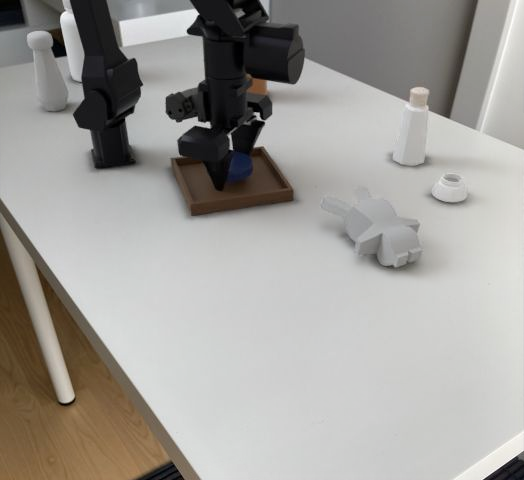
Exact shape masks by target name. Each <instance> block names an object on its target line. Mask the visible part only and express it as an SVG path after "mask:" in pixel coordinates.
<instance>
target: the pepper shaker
mask: <svg viewBox="0 0 524 480" xmlns="http://www.w3.org/2000/svg"><path fill="white" fill-rule="evenodd" d="M409 93H410V95H409V103H406V104H405V107H404V110H403V113H402V118H401V122H400V126H399V130H398V132H397V133H398V134H397V138H396V141H395V145H394V149H393V153H392V161H394V162H396V163H397V164H399V165H401V166H407V167H408V166H410V167H416V166H418V165H422V164H424V163H425V156H426V148H427V147H426V146H427V133H428V124H429V123H428V121H429V108H430V107H429V105H427V104H428V103H427V102H428V99H429V95H430V89H428V88H425V87H423V86H422V87H421V86H416V87H413V88H411V89H410V92H409Z"/></svg>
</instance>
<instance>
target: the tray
mask: <svg viewBox="0 0 524 480" xmlns="http://www.w3.org/2000/svg"><path fill="white" fill-rule="evenodd" d="M250 157H251V159H252V164H253V171H252V174H251V175H250V176H249V177H247V178H245V179H243V180H240V181H233V182H225V185H224V188H223V190H222V191H218V190H216V189H215V187H214V185H213V183H212V180H211V178H210V176H209V175H208V173H207V169H206V167H205V165H204V163H203V161H202V160H199V159H194V158H189V157H184V156H176V157H170V165H171V170H172V173H173V175H174V177H175V180H176V183H177V185H178V187H179V189H180V192H181V195H182V196H183V199H184V202H185V204H186V206H187V209H188V211H189V213H190V215H191V216H197V215H198V216H199V215H205V214H212V213H219V212H225V211H230V210H238V209H245V208H251V207H258V206H264V205H271V204H278V203H279V204H280V203H285V202H291V201H294V191H295V190H294V188H293V186H292V185H291V183H290V182H289V180H288V179H287V178H286V176H285V174H283V172H282V170H281V169H280V168H279V166H278V165H277V163H276V162H275V161H274V159H273V158H272V156H271V155H270V154H269V152H268V151H267V149H266V148H265V146H264V145H262V146H254V148H253V150H252V152H251V154H250Z"/></svg>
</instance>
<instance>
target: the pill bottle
mask: <svg viewBox="0 0 524 480" xmlns="http://www.w3.org/2000/svg"><path fill="white" fill-rule="evenodd" d="M61 1H62V5H63V8H64V10H65V11H64V12H62V13H61V15H60V19H59V22H60V23H59V24H60V27H61V32H62V33H61V34H62V38H63V41H64V46H65V51H66V58H67V61H68V67H69V71H70V74H71V78H72V79H73V80H74V81H76V82H79V83H80V82H81V83H82V80H81V75H82V68H83V62H84V50H83V47H82V43H81V40H80V36H79V33H78V29H77V26H76V22H75V19H74V15H73V11H72V8H71V4H70V1H69V0H61Z"/></svg>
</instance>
